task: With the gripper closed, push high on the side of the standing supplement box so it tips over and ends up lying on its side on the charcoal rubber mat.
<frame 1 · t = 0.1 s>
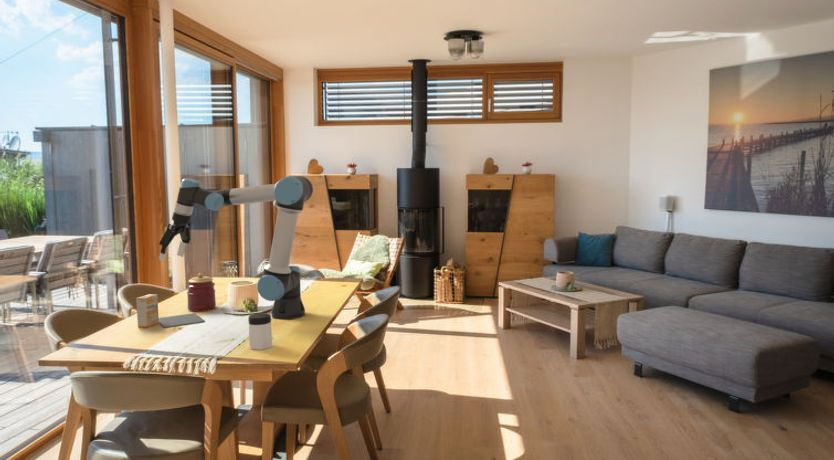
hand: (171, 258, 261), 28 cm above the table, tool tilted 20°, fingers open, 13 cm apart
canister: (202, 309, 284), on the table
supplement box: (148, 325, 254), on the table
mat: (180, 320, 261), on the table
jar: (260, 347, 221), on the table
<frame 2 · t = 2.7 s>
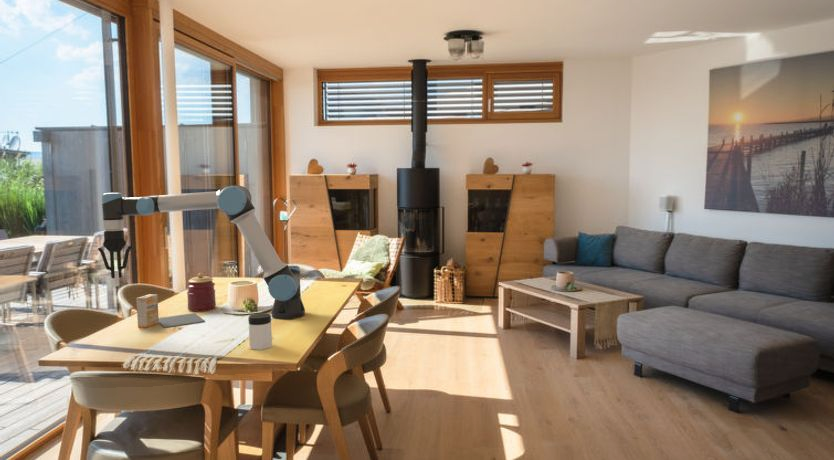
hand: (116, 285, 246), 19 cm above the table, tool pointing down, fingers closed
nothing on the table moved.
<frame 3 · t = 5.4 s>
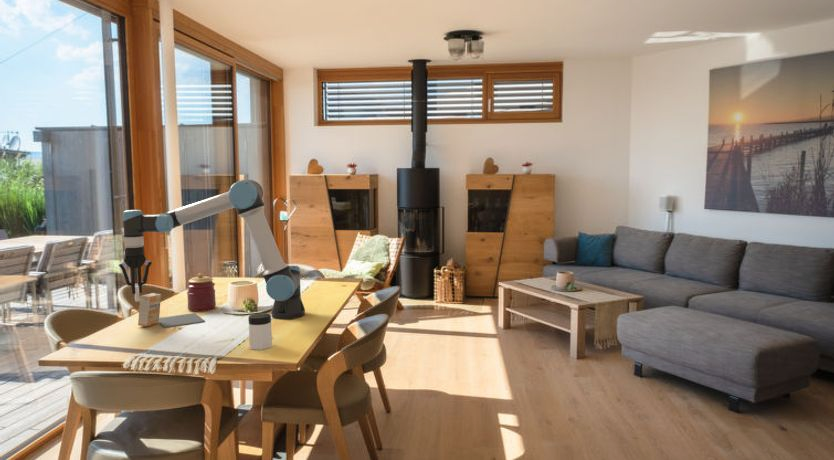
hand: (137, 300, 251), 11 cm above the table, tool pointing down, fingers closed
supplement box: (148, 324, 254), on the table, touching gripper
everything else where it was.
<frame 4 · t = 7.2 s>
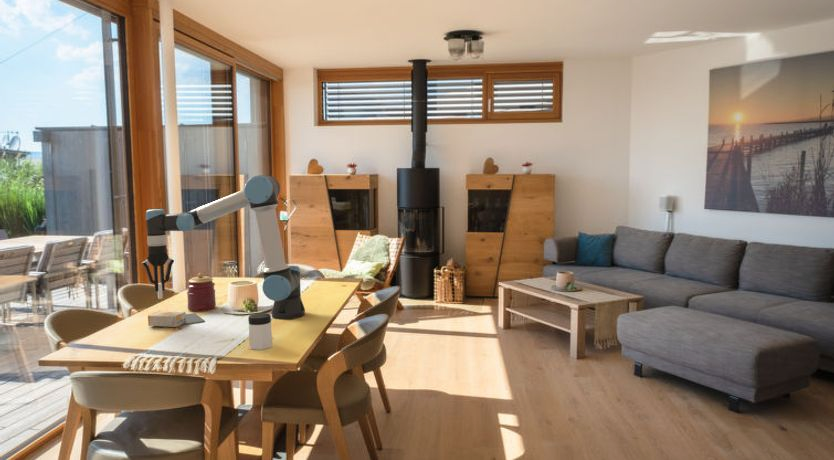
hand: (160, 298, 256), 11 cm above the table, tool pointing down, fingers closed
supplement box: (153, 318, 254), point 3 cm above the table, touching mat
everything else where it was.
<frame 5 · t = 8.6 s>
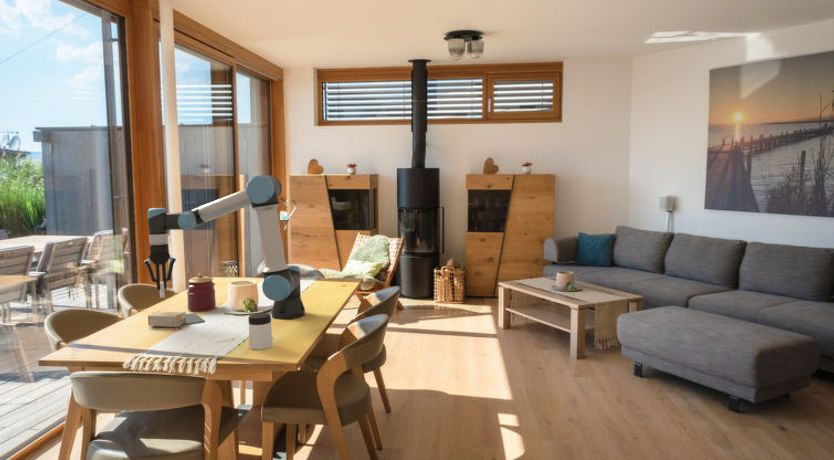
hand: (162, 296, 256), 12 cm above the table, tool pointing down, fingers closed
nothing on the table moved.
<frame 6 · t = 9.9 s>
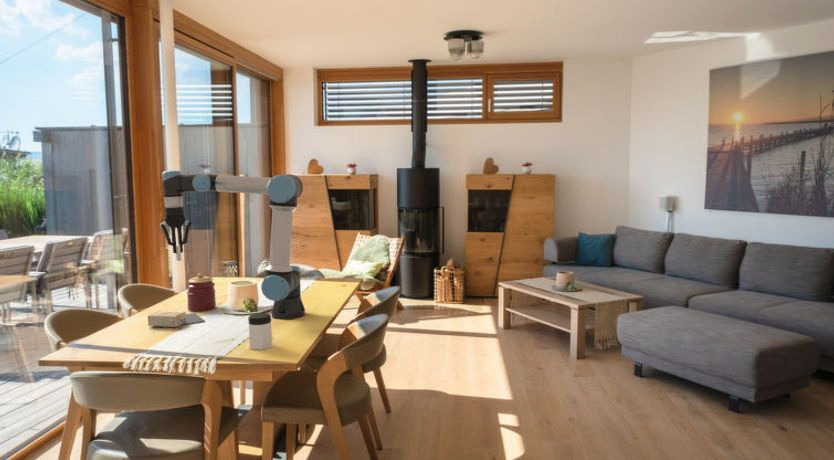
hand: (178, 260, 255), 28 cm above the table, tool pointing down, fingers closed
nothing on the table moved.
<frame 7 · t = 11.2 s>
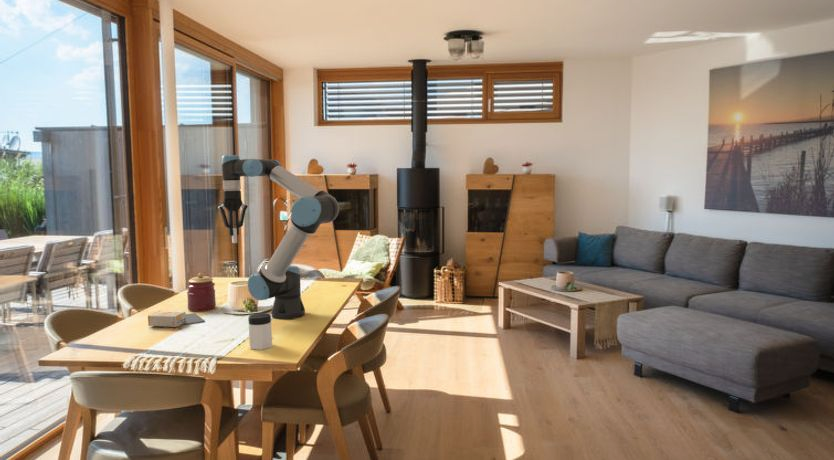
hand: (234, 242, 262), 34 cm above the table, tool pointing down, fingers closed
nothing on the table moved.
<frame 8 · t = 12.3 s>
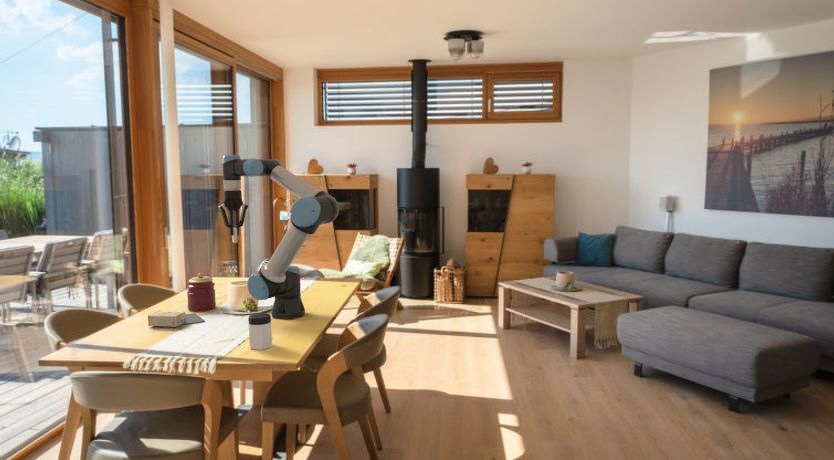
hand: (235, 242, 262), 34 cm above the table, tool pointing down, fingers closed
nothing on the table moved.
at the end: supplement box tilted 90°; supplement box inside the target area (6.6 cm from its centre), point 2.9 cm above the table; supplement box touching mat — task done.
